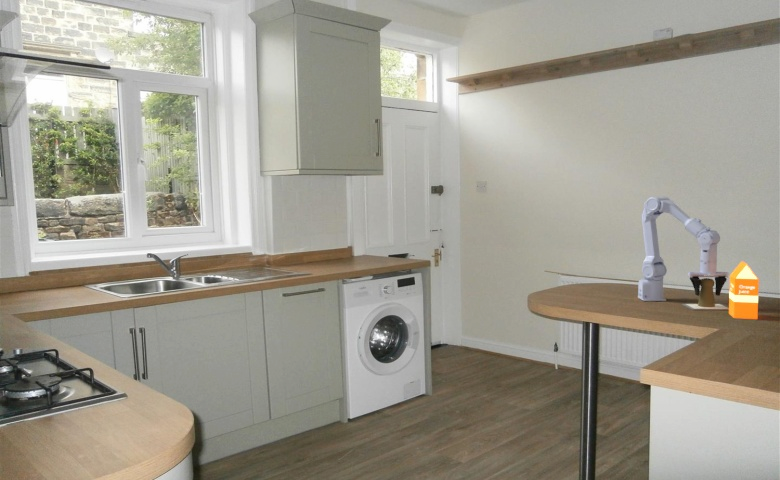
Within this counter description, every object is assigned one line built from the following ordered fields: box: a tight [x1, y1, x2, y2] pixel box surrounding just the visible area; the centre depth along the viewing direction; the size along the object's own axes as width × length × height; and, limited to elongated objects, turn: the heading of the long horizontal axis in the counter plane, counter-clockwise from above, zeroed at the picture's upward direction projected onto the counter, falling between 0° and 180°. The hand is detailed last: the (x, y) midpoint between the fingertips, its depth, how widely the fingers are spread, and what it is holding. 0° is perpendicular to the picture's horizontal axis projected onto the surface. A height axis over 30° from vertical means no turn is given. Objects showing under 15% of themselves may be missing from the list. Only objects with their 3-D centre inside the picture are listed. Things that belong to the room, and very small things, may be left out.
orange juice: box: [728, 261, 760, 320], centre depth 217 cm, size 8×9×20 cm
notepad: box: [681, 303, 729, 311], centre depth 235 cm, size 15×11×1 cm
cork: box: [697, 277, 716, 307], centre depth 235 cm, size 6×6×11 cm
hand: (707, 295), depth 234 cm, fingers open, 7 cm apart
